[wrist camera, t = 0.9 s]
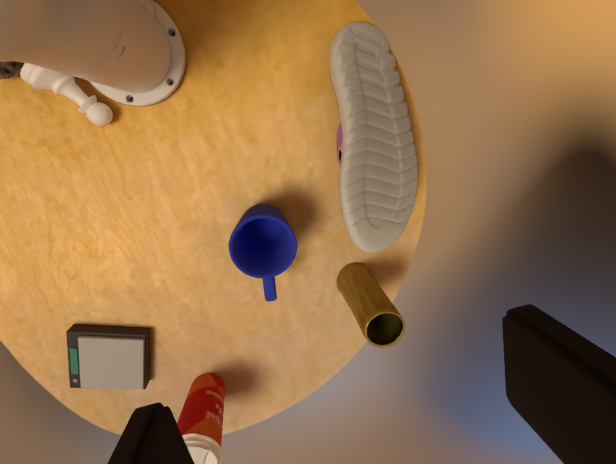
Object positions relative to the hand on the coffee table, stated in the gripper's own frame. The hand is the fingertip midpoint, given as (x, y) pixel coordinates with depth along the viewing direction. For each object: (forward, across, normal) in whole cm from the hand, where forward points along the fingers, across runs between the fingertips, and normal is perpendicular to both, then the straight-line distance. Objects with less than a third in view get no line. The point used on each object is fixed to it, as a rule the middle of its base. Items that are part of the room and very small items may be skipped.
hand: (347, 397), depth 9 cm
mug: (+41, +5, +7) cm, 42 cm away
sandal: (+34, -13, -4) cm, 36 cm away
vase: (+41, -8, +18) cm, 46 cm away
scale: (+41, +33, +20) cm, 56 cm away
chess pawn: (+37, +24, -21) cm, 49 cm away
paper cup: (+41, +21, +30) cm, 55 cm away
